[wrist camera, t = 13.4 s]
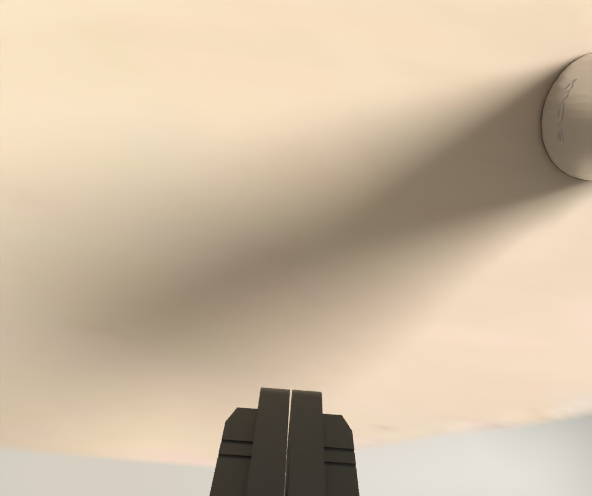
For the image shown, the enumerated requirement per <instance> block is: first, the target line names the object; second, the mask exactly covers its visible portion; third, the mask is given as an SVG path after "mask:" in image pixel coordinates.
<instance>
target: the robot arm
mask: <svg viewBox="0 0 592 496" xmlns="http://www.w3.org/2000/svg"><path fill="white" fill-rule="evenodd" d="M542 136H543V141H544V144H545V148H546V151H547V153H548V154H549V156H550V158H551V160H552V161H553V162H554V164H555V165H556V166H557V167H558V168H559V169H560V170H562V171H563V172H565V173H566V174H568V175H569V176H572V177H576V178H579V179H584V180H590V181H592V53H590V54H587V55H584V56H582V57H580V58H579V59H577V60H576V61H574V62H572V63H571V64H570V65H569V66H568V67H567V68H566V69H565V70H564V71H563V72H562V73H561V74H560V75H559V77H558V78H557V80H556V81H555V82H554V84H553V86H552V88H551V90H550V92H549V94H548V96H547V99H546V102H545V105H544V109H543V115H542ZM289 398H290V390H286V389H273V388H261V390H260V397H259V405H258V409H251V408H237V409H236V410H235V411H234V412H233V413H232V415H231V416H230V417H229V418H228V419H227V421H226V422H225V427H224V431H223V436H222V442H221V445H220V450H219V455H218V459H217V463H216V468H215V473H214V477H213V482H212V487H211V491H210V496H284V491H285V496H359V489H358V480H357V471H356V462H355V453H354V443H353V434H352V430H351V429H350V427H349V426H348V424H347V422H346V421H345V419H344V418H343V416H342V415H332V414H322V393H321V392H314V391H301V390H292V398H291V410H290V421H289V433H288V416H289ZM287 435H288V445H287ZM286 454H287V459H286ZM285 472H286V477H285Z"/></svg>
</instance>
